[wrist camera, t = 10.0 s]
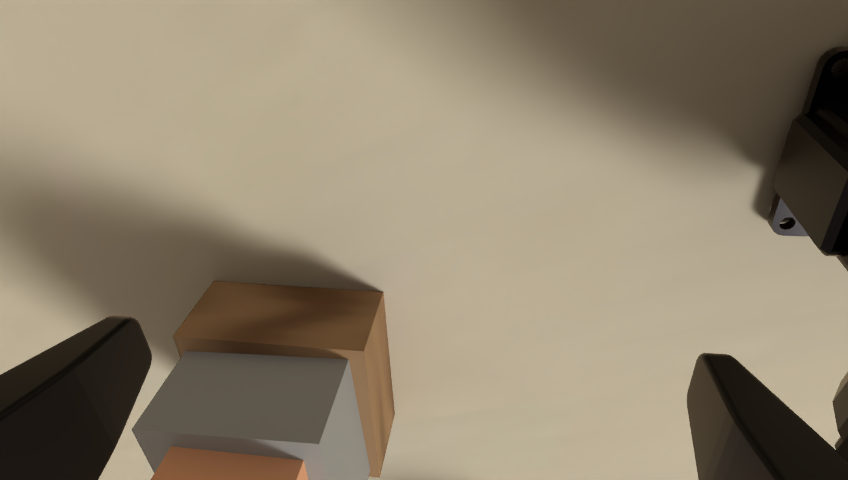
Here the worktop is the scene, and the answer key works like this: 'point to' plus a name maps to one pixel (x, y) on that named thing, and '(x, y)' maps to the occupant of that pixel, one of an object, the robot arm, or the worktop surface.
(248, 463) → the terracotta block
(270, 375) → the slate top block
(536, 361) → the worktop surface
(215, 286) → the walnut base block
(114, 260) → the worktop surface
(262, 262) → the worktop surface
